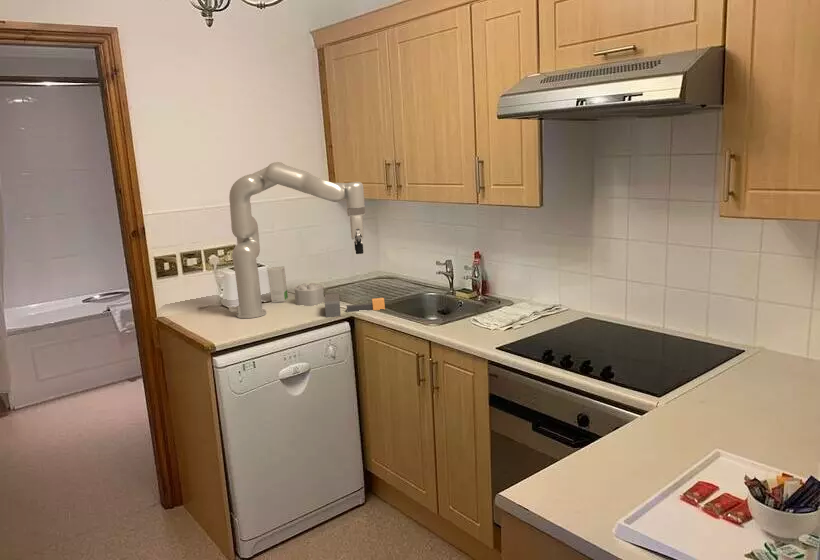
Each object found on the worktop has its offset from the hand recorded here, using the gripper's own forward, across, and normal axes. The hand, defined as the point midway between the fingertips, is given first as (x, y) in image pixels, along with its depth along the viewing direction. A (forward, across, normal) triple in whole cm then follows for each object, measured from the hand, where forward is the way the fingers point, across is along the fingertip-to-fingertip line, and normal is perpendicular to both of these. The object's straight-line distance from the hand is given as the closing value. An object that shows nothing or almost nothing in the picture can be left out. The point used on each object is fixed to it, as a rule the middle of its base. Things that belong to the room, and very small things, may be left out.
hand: (359, 251), depth 276 cm
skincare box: (+24, -27, -38) cm, 53 cm away
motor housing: (+24, +5, -13) cm, 28 cm away
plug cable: (+24, +5, +1) cm, 25 cm away
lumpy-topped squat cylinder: (+25, -17, -24) cm, 38 cm away
